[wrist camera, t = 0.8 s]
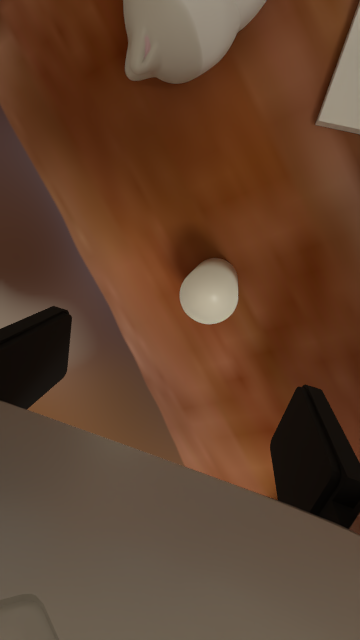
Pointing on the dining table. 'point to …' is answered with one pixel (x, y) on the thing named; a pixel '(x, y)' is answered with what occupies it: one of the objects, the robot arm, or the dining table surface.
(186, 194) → the dining table surface
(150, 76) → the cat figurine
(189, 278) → the cream cap
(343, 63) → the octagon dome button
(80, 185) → the dining table surface
